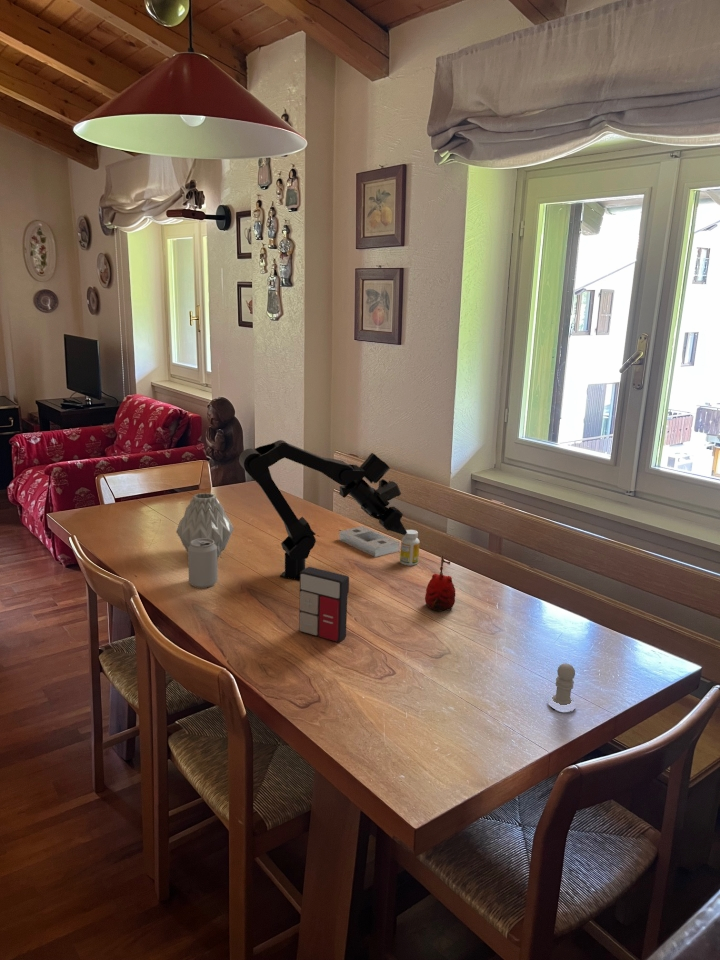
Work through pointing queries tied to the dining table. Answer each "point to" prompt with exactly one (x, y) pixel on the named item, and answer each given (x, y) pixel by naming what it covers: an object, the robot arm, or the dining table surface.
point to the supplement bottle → (410, 548)
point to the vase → (205, 522)
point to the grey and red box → (323, 603)
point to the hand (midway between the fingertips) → (399, 528)
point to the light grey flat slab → (375, 546)
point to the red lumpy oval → (440, 591)
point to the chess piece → (564, 684)
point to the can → (202, 563)
